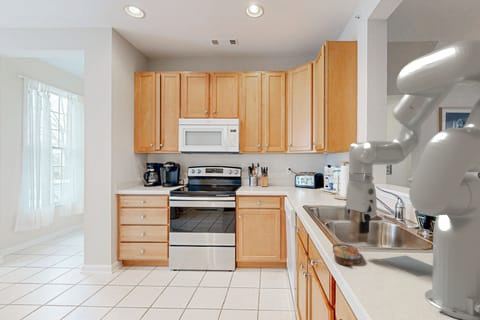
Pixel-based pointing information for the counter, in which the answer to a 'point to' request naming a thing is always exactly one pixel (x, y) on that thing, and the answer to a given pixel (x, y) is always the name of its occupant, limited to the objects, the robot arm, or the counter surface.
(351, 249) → the tin
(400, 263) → the mat
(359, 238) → the block
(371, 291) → the counter surface
